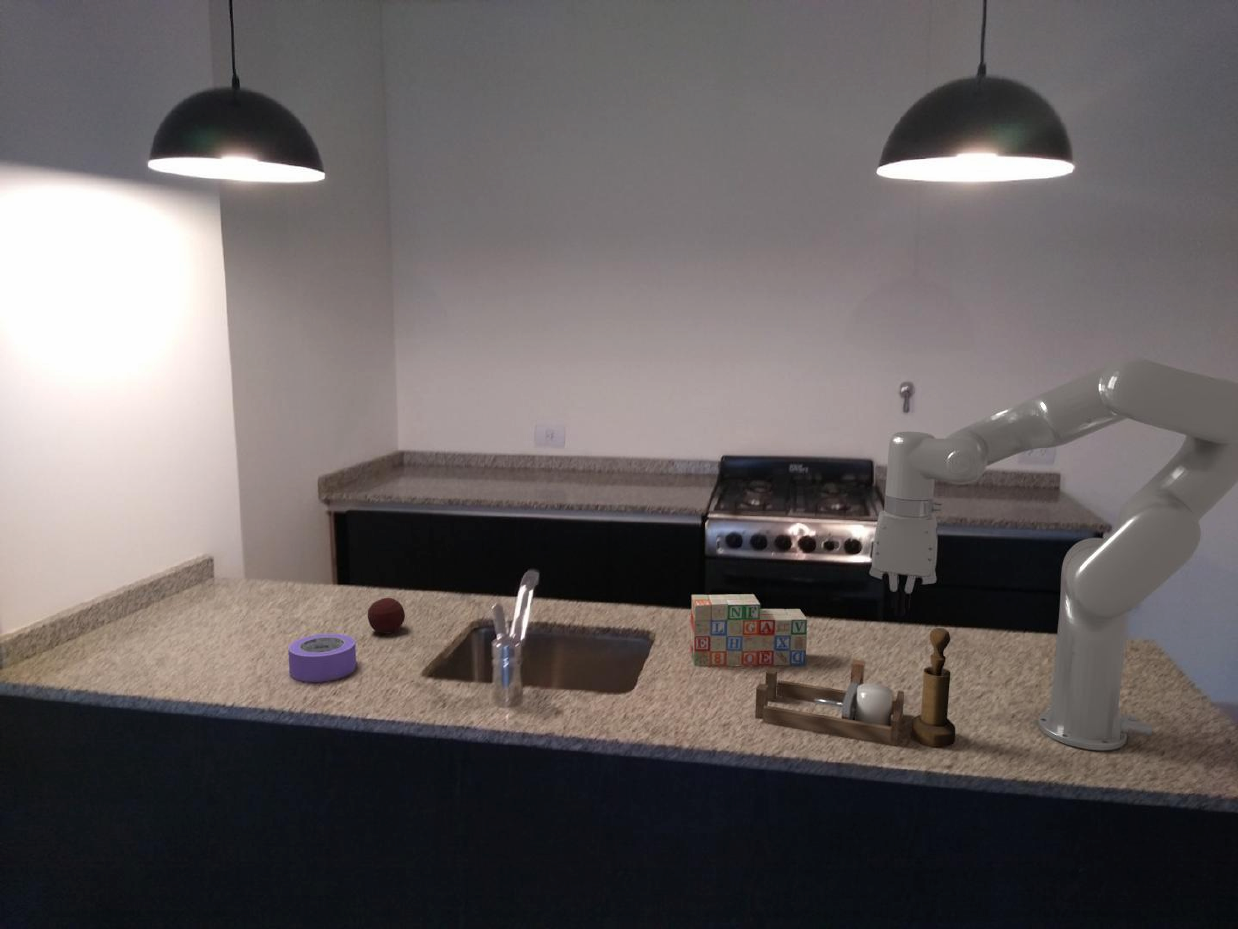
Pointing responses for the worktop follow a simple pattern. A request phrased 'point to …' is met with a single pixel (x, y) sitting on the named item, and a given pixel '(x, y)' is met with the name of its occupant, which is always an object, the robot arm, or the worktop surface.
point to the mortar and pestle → (935, 698)
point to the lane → (821, 721)
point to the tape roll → (322, 657)
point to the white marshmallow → (874, 704)
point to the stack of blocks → (745, 632)
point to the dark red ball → (386, 615)
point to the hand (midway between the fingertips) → (899, 612)
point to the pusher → (849, 691)
